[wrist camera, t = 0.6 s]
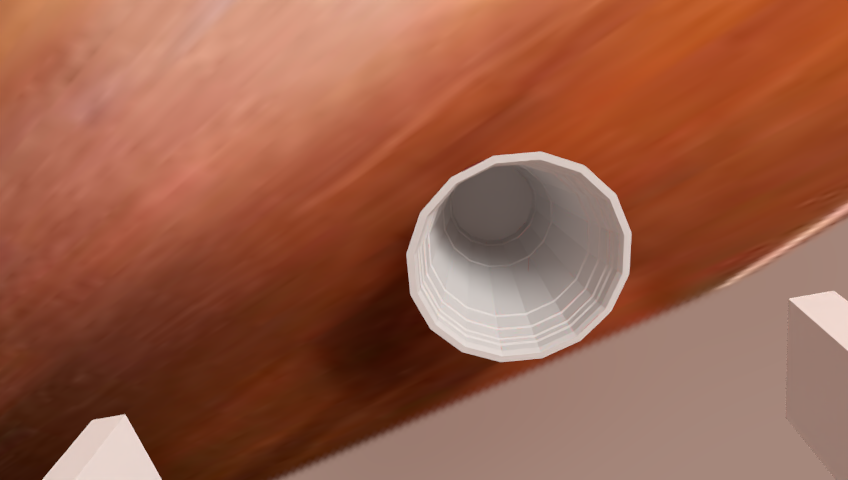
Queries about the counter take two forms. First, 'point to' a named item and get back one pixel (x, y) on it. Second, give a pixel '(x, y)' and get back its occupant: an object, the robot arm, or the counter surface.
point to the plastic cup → (519, 256)
